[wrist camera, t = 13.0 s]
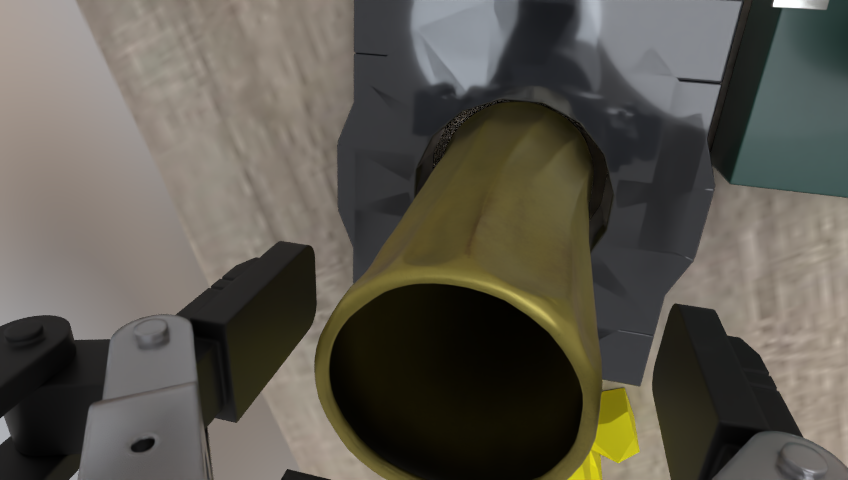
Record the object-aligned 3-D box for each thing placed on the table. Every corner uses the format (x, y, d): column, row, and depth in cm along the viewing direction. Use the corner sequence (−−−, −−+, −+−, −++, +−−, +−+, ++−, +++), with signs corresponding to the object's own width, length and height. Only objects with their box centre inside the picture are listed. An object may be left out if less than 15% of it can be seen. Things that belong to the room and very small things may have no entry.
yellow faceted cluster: (645, 450, 26) (673, 611, 19) (488, 470, 29) (463, 617, 22) (611, 349, 24) (629, 485, 18) (448, 380, 27) (408, 508, 20)
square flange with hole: (364, -21, 21) (334, -24, 18) (740, 1, 18) (770, 0, 16) (361, 297, 27) (338, 330, 24) (647, 347, 24) (657, 390, 21)
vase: (580, 253, 23) (598, 559, 10) (439, 235, 24) (298, 489, 12) (605, 106, 21) (667, 270, 8) (446, 95, 22) (276, 220, 9)
